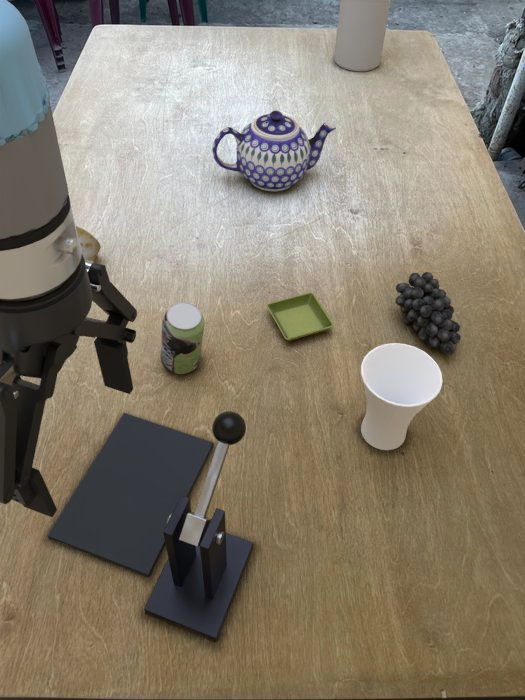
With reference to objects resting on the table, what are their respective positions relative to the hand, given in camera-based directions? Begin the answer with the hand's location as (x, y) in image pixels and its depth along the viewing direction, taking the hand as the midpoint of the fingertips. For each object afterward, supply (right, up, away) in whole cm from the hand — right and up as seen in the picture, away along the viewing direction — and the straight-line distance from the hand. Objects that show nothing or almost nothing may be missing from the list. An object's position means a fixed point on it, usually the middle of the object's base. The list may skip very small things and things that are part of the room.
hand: (82, 443), depth 56 cm
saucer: (+22, +13, +48) cm, 54 cm away
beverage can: (+4, +6, +41) cm, 42 cm away
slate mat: (-1, -10, +27) cm, 29 cm away
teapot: (+18, +45, +75) cm, 89 cm away
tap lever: (+11, -5, +11) cm, 17 cm away
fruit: (+43, +11, +48) cm, 65 cm away
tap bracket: (+9, -19, +19) cm, 29 cm away
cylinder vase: (+42, +86, +112) cm, 147 cm away
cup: (+34, -4, +34) cm, 48 cm away
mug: (-17, +23, +55) cm, 62 cm away
